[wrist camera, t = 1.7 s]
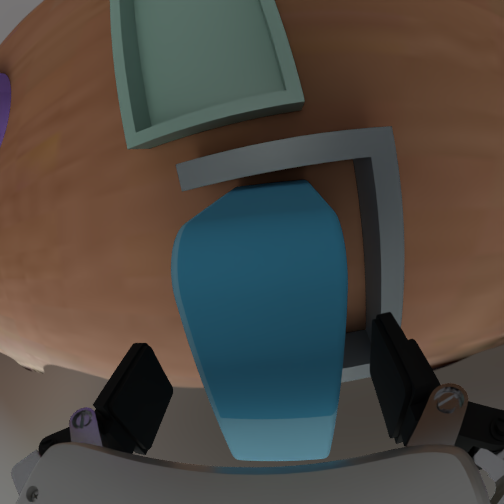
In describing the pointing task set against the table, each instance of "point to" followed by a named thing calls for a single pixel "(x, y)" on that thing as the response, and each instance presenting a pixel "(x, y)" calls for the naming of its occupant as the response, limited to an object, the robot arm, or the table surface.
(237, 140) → the table surface
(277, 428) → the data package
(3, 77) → the masking tape
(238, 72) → the tray
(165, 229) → the table surface
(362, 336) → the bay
